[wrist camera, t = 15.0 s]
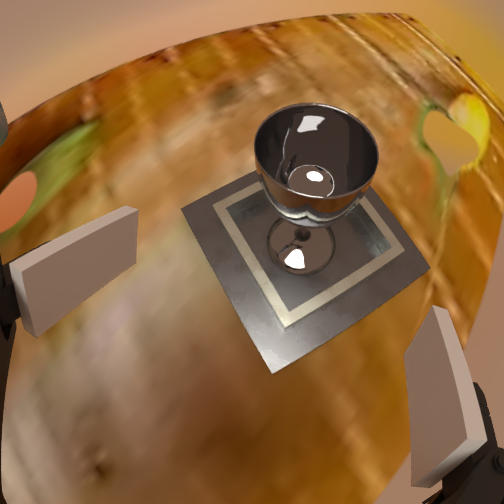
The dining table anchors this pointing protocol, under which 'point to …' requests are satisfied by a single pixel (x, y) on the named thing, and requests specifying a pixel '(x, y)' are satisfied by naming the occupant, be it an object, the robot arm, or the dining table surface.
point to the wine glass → (311, 179)
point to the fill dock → (300, 286)
